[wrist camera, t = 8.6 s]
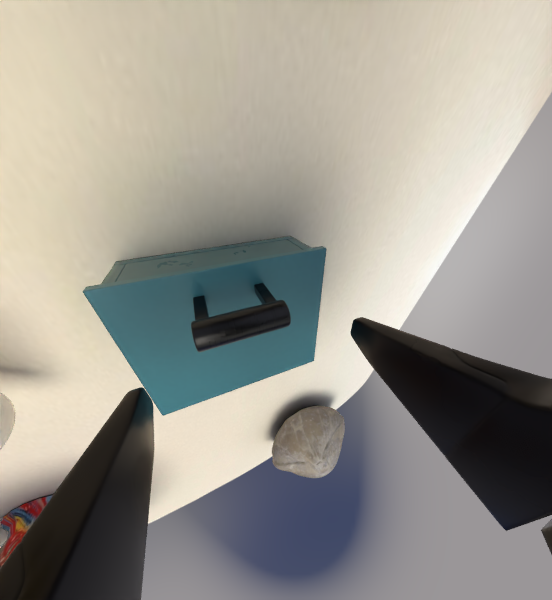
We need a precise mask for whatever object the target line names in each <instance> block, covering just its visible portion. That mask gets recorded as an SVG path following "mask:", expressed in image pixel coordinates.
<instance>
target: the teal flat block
mask: <svg viewBox="0 0 552 600" xmlns="http://www.w3.org/2000/svg"><path fill="white" fill-rule="evenodd" d="M309 248H311V247H309V246H307V245H306V244H304V243H302V242H300V241H299V240H297V239H295V238H294V237H292V236H287V237H281V238H274V239H267V240H260V241H253V242H246V243H240V244H233V245H226V246H219V247H212V248H205V249H199V250H192V251H185V252H178V253H171V254H165V255H158V256H151V257H144V258H137V259H130V260H124V261H117V262H116V263H115V264H114V266H113V267H112V269H111V270H110V272H109V273H108V275H107V276H106V278H105V279H104V280H103V282H102V283H101V284H106V283H112V282H117V281H123V280H129V279H135V278H141V277H146V276H152V275H158V274H164V273H170V272H175V271H181V270H187V269H193V268H199V267H205V266H210V265H216V264H222V263H228V262H234V261H239V260H245V259H251V258H257V257H263V256H269V255H274V254H280V253H286V252H292V251H298V250H303V249H309Z"/></svg>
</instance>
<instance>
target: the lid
mask: <svg viewBox="0 0 552 600" xmlns="http://www.w3.org/2000/svg"><path fill="white" fill-rule="evenodd" d="M325 257H326V248H324V247H323V246H321V247H315V248H309V249H303V250H298V251H292V252H286V253H280V254H274V255H269V256H263V257H257V258H251V259H245V260H239V261H234V262H228V263H222V264H216V265H210V266H205V267H199V268H193V269H187V270H181V271H175V272H170V273H164V274H158V275H152V276H146V277H141V278H135V279H129V280H123V281H117V282H112V283H106V284H100V285H94V286H88V287H86V288H85V289H84V291H83V293H84V295H85V296H86V298H87V299H88V301H89V302H90V304H91V305H92V307H93V308H94V310H95V312H96V313H97V315H98V316H99V318H100V319H101V321H102V322H103V324H104V326H105V327H106V329H107V330H108V332H109V333H110V335H111V336H112V338H113V339H114V341H115V343H116V344H117V346H118V347H119V349H120V350H121V352H122V353H123V355H124V356H125V358H126V360H127V361H128V363H129V364H130V366H131V367H132V369H133V370H134V372H135V374H136V375H137V377H138V378H139V380H140V381H141V383H142V384H143V386H144V387H145V389H146V391H147V392H148V394H149V395H150V397H151V398H152V400H153V401H154V403H155V404H156V406H157V408H158V409H159V411H160V412H161V414H162V415H166V414H169V413H172V412H174V411H177V410H180V409H183V408H185V407H188V406H191V405H194V404H196V403H199V402H202V401H205V400H207V399H210V398H213V397H216V396H218V395H221V394H224V393H227V392H229V391H232V390H235V389H238V388H240V387H243V386H246V385H249V384H251V383H254V382H257V381H260V380H263V379H265V378H268V377H271V376H274V375H276V374H279V373H282V372H285V371H287V370H290V369H293V368H296V367H298V366H301V365H304V364H307V363H309V362H312V361H314V354H315V346H316V337H317V328H318V319H319V310H320V301H321V292H322V283H323V274H324V266H325Z"/></svg>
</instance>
